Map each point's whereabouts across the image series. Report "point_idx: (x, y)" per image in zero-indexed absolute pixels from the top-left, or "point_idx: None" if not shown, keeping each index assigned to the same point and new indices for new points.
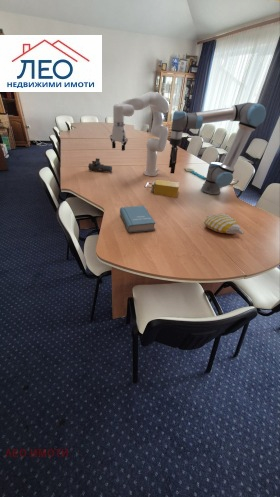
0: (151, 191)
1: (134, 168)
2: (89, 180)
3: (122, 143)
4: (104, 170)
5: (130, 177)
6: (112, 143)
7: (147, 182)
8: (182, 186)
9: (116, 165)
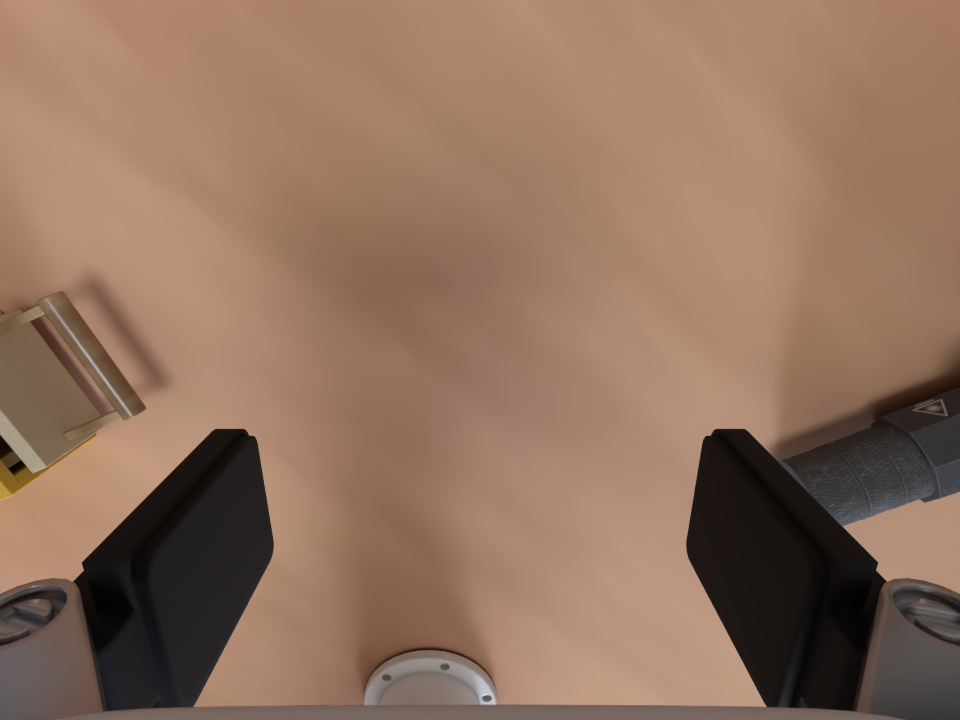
0: (12, 312)
1: None
2: (846, 64)
3: (16, 661)
4: (862, 432)
5: (515, 506)
6: (831, 541)
7: (121, 411)
8: None
9: None
